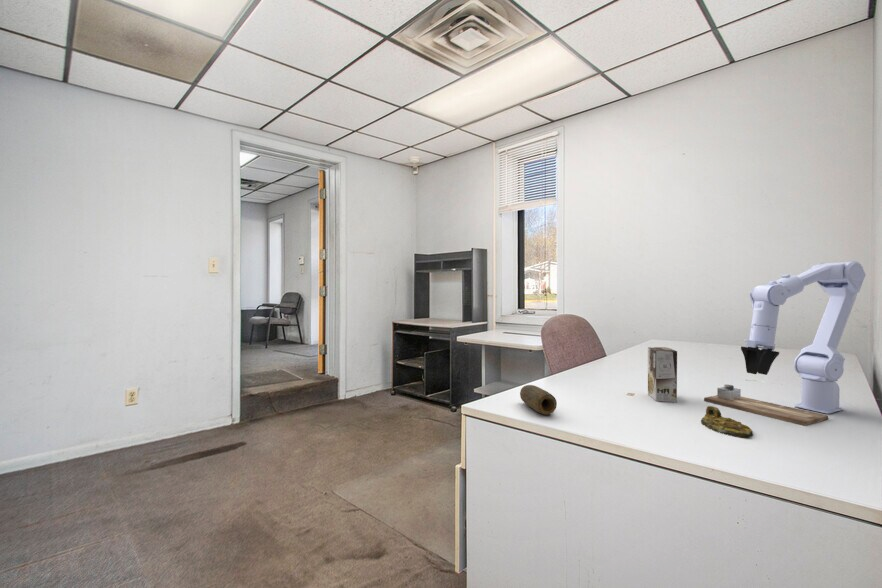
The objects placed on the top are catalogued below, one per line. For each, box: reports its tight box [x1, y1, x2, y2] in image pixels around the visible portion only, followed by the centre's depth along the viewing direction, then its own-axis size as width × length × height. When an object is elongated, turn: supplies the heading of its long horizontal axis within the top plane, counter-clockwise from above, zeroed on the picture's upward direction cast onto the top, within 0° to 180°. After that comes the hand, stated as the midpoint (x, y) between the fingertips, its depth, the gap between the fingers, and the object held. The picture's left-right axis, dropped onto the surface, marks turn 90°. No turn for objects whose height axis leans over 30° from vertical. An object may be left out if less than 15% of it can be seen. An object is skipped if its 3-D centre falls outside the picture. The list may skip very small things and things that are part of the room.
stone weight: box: [519, 384, 557, 416], centre depth 122 cm, size 15×7×7 cm, turn 15°
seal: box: [700, 405, 754, 439], centre depth 105 cm, size 9×5×15 cm
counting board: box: [703, 394, 829, 426], centre depth 120 cm, size 12×26×1 cm, turn 25°
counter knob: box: [716, 384, 742, 401], centre depth 129 cm, size 5×4×4 cm
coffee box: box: [647, 346, 678, 403], centre depth 133 cm, size 9×6×16 cm
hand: (756, 373), depth 117 cm, fingers open, 7 cm apart
